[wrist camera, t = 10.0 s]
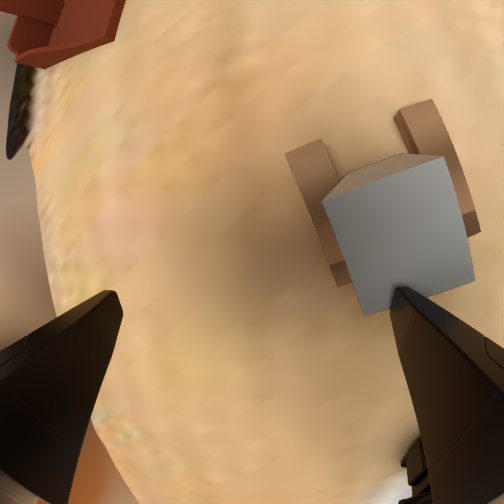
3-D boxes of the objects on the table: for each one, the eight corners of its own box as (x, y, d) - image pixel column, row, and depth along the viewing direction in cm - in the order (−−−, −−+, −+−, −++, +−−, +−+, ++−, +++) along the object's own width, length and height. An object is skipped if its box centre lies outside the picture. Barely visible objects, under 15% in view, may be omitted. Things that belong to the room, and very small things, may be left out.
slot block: (467, 227, 18) (480, 231, 15) (338, 276, 21) (337, 287, 19) (422, 108, 17) (431, 98, 15) (291, 158, 21) (284, 154, 18)
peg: (421, 209, 18) (475, 280, 8) (369, 227, 20) (363, 315, 9) (401, 153, 18) (443, 156, 7) (348, 173, 19) (321, 201, 9)
